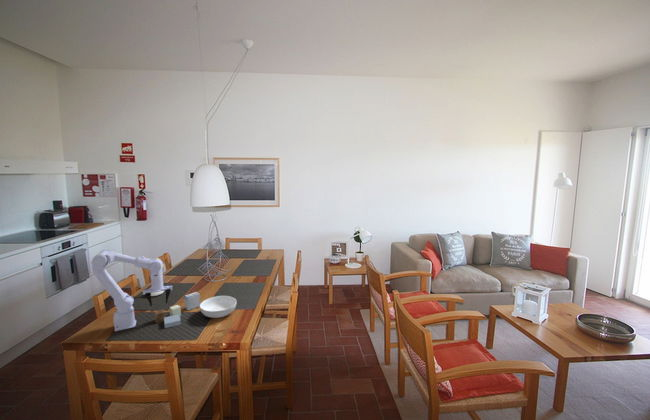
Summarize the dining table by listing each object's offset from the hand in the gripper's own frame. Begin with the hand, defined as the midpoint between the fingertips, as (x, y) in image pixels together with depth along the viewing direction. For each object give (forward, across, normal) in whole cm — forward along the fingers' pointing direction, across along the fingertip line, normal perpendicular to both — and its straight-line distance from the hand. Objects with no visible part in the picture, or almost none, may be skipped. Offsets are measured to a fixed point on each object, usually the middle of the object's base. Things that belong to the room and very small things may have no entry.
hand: (159, 303), depth 169 cm
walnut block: (+10, 0, 0) cm, 10 cm away
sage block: (+10, +8, +2) cm, 13 cm away
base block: (+11, +6, -6) cm, 14 cm away
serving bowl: (+11, +31, -8) cm, 34 cm away
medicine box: (+10, +18, +8) cm, 23 cm away
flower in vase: (+10, -2, +42) cm, 44 cm away
